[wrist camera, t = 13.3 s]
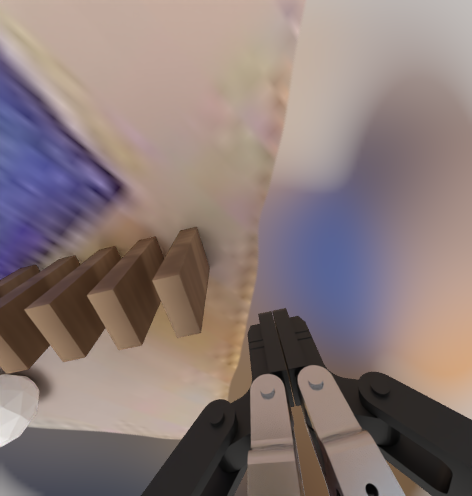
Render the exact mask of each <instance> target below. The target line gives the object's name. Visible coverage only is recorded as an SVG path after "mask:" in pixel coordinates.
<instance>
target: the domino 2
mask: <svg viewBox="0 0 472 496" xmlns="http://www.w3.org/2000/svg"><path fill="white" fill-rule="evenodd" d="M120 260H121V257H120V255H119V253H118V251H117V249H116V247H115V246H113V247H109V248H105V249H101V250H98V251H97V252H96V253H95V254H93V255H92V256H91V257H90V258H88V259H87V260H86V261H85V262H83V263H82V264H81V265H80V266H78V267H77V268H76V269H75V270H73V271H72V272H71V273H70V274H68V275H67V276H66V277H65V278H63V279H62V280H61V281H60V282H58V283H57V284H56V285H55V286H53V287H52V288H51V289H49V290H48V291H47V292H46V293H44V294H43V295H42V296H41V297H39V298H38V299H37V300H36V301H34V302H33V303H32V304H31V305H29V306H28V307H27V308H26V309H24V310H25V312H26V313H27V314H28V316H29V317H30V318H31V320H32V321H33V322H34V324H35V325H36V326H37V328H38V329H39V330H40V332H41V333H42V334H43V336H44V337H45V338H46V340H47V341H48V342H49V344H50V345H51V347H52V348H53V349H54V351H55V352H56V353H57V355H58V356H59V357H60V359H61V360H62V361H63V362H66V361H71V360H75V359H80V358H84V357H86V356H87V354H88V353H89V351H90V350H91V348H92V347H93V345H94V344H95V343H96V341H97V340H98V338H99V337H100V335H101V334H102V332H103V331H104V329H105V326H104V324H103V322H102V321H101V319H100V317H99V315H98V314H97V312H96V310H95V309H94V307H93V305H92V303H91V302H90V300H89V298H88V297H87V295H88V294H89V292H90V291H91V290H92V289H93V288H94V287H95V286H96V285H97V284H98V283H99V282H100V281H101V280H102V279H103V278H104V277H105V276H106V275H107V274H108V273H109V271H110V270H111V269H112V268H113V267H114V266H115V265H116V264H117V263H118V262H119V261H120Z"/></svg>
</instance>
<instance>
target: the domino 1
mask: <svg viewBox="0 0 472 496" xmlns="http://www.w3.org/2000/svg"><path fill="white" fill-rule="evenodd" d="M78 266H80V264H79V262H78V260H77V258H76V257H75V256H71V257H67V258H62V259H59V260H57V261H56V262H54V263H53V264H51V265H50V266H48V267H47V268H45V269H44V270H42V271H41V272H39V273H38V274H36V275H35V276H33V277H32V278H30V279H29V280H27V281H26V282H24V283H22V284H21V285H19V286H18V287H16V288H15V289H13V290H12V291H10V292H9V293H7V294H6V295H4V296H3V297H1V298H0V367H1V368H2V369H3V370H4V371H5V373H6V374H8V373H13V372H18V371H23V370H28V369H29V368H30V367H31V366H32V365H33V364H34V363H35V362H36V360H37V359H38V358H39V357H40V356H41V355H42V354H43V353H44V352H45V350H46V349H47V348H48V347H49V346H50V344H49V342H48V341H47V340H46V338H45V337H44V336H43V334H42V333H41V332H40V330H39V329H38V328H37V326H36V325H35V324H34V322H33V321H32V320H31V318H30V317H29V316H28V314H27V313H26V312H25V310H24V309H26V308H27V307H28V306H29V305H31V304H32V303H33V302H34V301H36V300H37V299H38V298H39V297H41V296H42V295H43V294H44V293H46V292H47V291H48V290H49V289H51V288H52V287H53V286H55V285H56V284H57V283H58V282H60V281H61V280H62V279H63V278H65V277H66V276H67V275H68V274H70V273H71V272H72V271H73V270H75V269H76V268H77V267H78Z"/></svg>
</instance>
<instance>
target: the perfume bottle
mask: <svg viewBox="0 0 472 496" xmlns="http://www.w3.org/2000/svg"><path fill="white" fill-rule="evenodd" d="M38 400H39V389H38V388H37V386H36V384H35V383H34V382H33V381H32V380H31V379H29V378H28V377H27V376H17V375H6V374H2V375H0V447H2V446H4V445H5V444H7V443H9V442H10V441H12V440H14V439H16V438H17V437H19V436H20V435H21V434H22V432H23V431H24V430H25V428H26V427H27V426H28V424H29V423H30V422H31V420H32V419H33V417H34V416H35V415H36V413H37V411H38Z"/></svg>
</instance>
